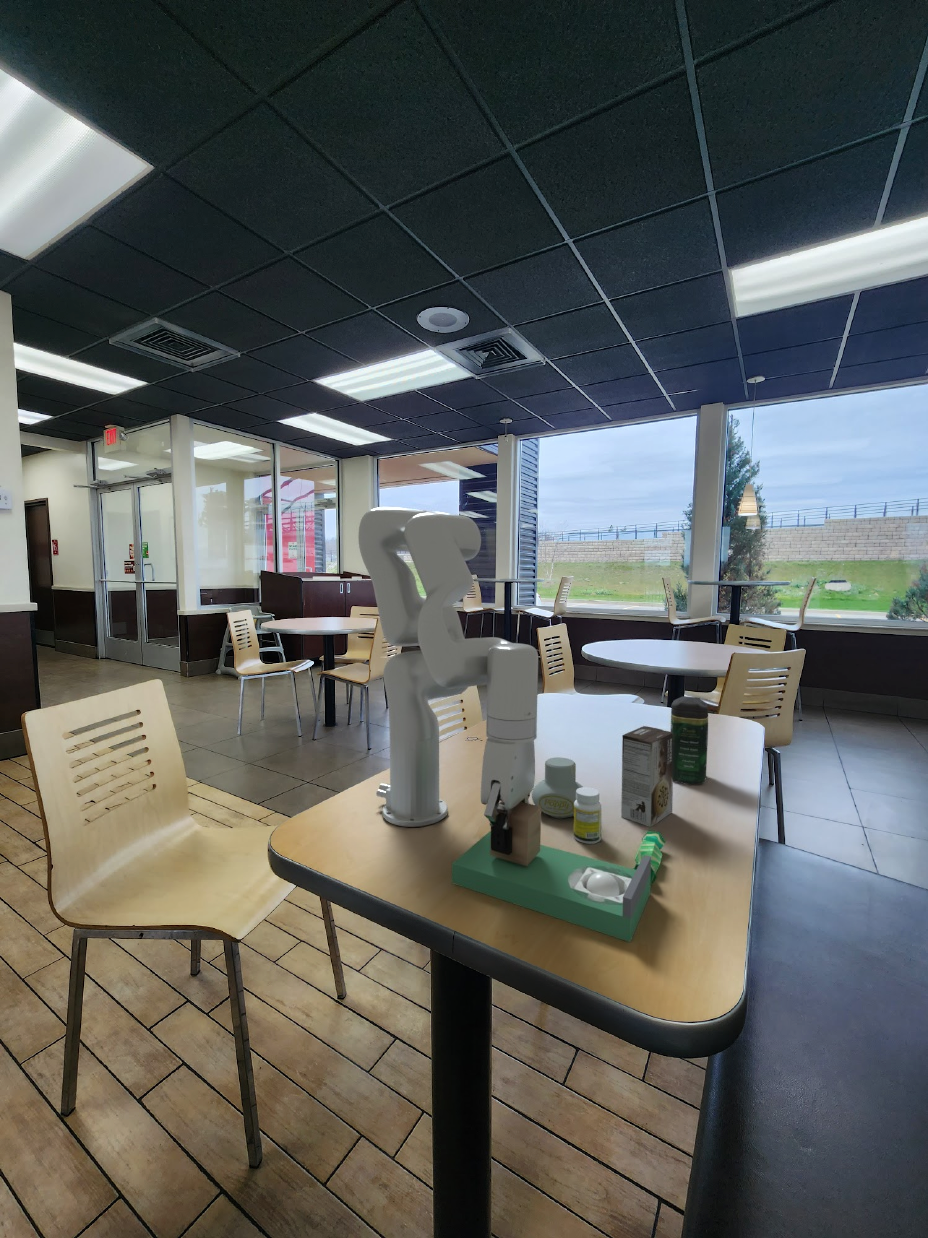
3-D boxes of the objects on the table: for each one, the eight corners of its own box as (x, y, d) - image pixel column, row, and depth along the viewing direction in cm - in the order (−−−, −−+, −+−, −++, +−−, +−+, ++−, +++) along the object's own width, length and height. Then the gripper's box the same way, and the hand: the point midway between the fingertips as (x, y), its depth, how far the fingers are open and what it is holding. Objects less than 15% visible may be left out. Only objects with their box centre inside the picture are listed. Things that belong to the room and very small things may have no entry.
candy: (661, 884, 77) (645, 858, 78) (640, 892, 79) (625, 866, 79) (669, 848, 88) (655, 825, 89) (651, 856, 89) (637, 833, 90)
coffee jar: (706, 788, 116) (708, 704, 115) (667, 782, 119) (669, 700, 118) (706, 774, 125) (708, 695, 123) (670, 769, 128) (672, 692, 127)
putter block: (490, 855, 80) (490, 810, 79) (504, 841, 84) (505, 798, 83) (527, 866, 77) (528, 819, 76) (540, 851, 81) (541, 806, 80)
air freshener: (527, 816, 102) (527, 765, 101) (536, 800, 110) (537, 752, 109) (585, 825, 98) (586, 772, 98) (590, 807, 106) (591, 758, 105)
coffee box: (642, 803, 108) (643, 725, 107) (673, 813, 103) (675, 731, 102) (619, 817, 101) (620, 734, 100) (651, 828, 97) (653, 741, 96)
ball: (618, 914, 70) (587, 913, 72) (626, 897, 74) (596, 897, 76) (609, 881, 71) (578, 881, 73) (618, 866, 74) (588, 866, 77)
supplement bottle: (581, 829, 96) (581, 784, 96) (605, 837, 93) (606, 790, 93) (568, 839, 93) (569, 792, 92) (593, 847, 90) (594, 799, 89)
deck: (452, 883, 79) (451, 847, 79) (489, 848, 89) (489, 816, 89) (630, 942, 66) (631, 899, 65) (650, 894, 76) (650, 856, 76)
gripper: (512, 711, 89) (510, 816, 90) (461, 737, 74) (459, 862, 75) (555, 717, 85) (552, 827, 86) (510, 746, 70) (507, 878, 72)
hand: (509, 842), depth 81 cm, fingers closed on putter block, 5 cm apart
